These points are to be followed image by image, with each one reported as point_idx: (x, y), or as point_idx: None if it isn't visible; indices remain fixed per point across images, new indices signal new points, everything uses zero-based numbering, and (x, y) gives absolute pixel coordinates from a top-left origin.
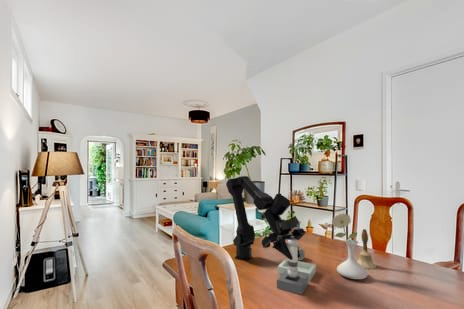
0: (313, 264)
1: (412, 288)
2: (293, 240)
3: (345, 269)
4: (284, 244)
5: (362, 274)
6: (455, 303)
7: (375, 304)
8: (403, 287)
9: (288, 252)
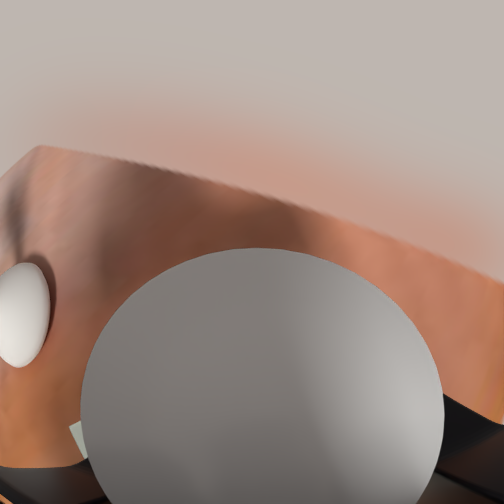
0: (74, 436)
1: (17, 202)
2: (275, 356)
3: (26, 306)
4: (460, 442)
5: (22, 263)
6: (36, 147)
7: (130, 161)
8: (20, 210)
9: None
